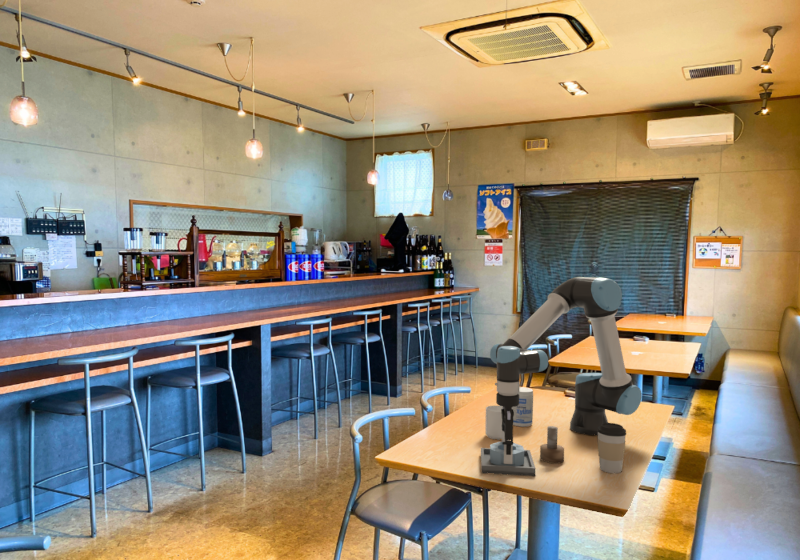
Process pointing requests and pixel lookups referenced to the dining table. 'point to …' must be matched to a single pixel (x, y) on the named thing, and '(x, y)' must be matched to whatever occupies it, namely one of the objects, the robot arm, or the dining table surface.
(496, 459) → the ring
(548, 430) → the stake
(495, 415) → the mug
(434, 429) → the dining table surface
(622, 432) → the coffee cup
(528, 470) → the tray
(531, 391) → the supplement tub
